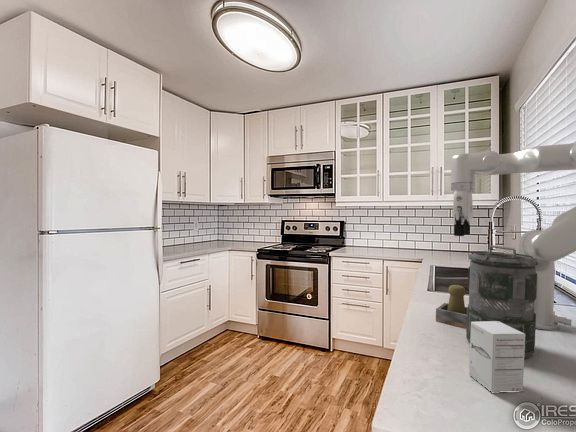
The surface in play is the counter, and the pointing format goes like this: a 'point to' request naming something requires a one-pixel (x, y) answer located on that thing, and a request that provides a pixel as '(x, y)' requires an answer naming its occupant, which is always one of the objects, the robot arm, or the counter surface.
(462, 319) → the grey square tray
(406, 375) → the counter surface
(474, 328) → the supplement box
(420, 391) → the counter surface
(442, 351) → the counter surface
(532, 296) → the canister
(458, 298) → the olive tall flared cylinder
